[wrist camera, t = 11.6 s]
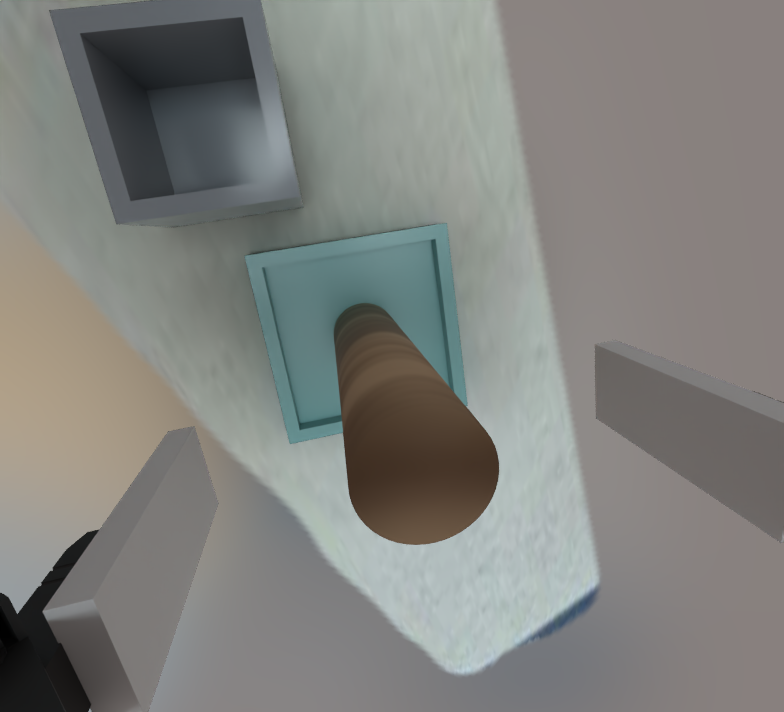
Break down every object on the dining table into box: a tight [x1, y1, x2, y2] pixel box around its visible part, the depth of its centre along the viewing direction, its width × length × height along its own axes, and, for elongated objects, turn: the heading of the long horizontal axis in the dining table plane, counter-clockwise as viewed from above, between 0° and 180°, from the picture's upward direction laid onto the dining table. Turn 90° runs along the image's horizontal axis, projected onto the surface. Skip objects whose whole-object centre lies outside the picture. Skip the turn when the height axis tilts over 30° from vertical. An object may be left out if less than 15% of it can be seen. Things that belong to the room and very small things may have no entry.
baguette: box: [334, 303, 499, 545], centre depth 20 cm, size 4×4×18 cm
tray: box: [245, 223, 468, 444], centre depth 29 cm, size 12×12×2 cm
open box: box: [49, 0, 303, 227], centre depth 22 cm, size 8×8×8 cm
